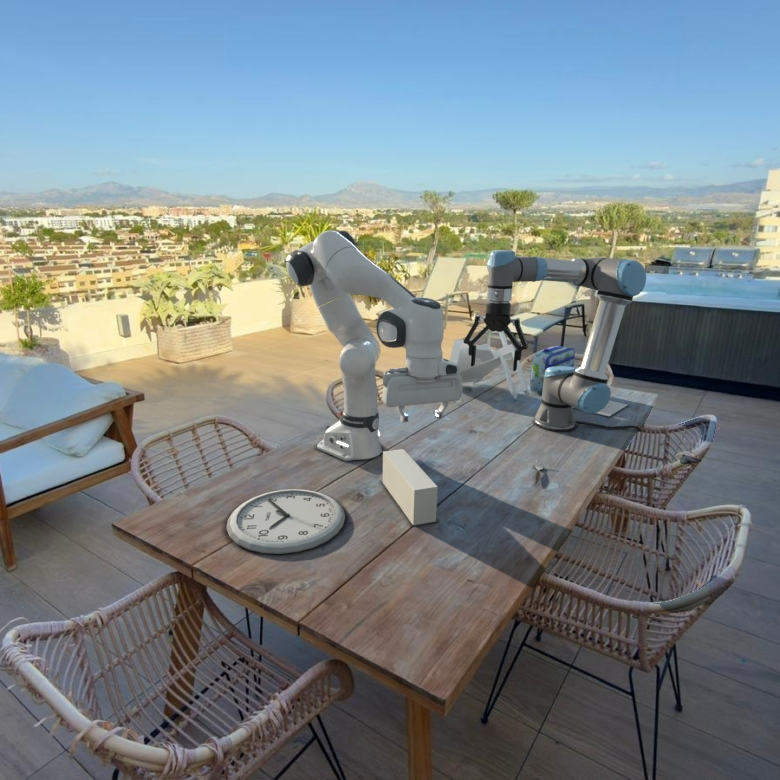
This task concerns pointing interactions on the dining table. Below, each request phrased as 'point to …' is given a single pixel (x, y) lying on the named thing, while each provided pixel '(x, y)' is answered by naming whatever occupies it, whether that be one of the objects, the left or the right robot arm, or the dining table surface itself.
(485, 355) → the white plastic object
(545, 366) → the lunch box
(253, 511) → the wall clock
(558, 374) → the right robot arm
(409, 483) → the box
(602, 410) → the invitation card
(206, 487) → the dining table surface
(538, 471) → the fork
